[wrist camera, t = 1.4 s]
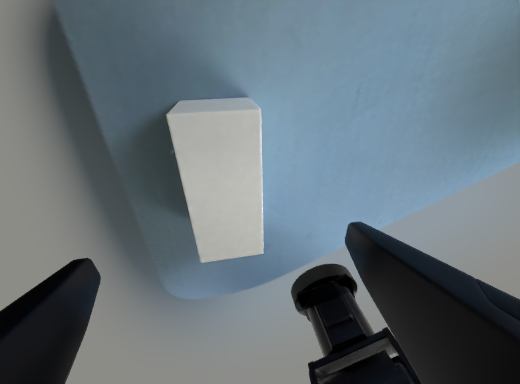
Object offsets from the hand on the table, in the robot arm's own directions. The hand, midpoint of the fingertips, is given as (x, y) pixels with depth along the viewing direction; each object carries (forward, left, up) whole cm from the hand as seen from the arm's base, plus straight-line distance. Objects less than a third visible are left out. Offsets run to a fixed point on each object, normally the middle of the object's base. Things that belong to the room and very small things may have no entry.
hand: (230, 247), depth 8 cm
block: (0, 0, -7) cm, 7 cm away
